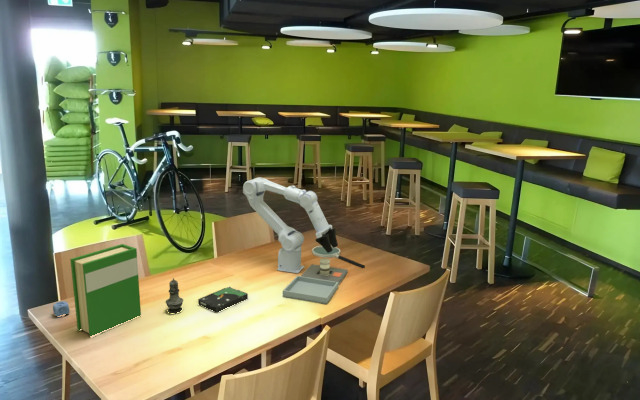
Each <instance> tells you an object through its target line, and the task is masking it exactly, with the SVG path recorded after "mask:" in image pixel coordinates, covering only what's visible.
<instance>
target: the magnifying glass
mask: <svg viewBox="0 0 640 400" xmlns="http://www.w3.org/2000/svg"><path fill="white" fill-rule="evenodd" d="M331 247H332V246H331ZM332 250H333V251H331V252H329V253H327V251H326V250H325V249H324V248H323V247H322V246H321V245H317V246H315V247H313V248H312V249H311V253H313V256H315V257H319V258H326V259H330V258H337V259H339V260H341V261H344V262H347V263H348V264H350V265H354V266H355V267H356V266H357V267H359V268H360V269H365V267H366V266H365V265H364V264H363V263H359V262H357V261H355V260H352V259H349V258H347V257H345V256H342V255H340V254H341V249H340V248H338V246H337V247H334V248H333V247H332Z"/></svg>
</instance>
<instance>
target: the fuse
mask: <svg viewBox="0 0 640 400" xmlns="http://www.w3.org/2000/svg"><path fill="white" fill-rule="evenodd" d="M330 264H331V259H330V258H324V257H322V258H320V259H319V265H320V273H319V275H325V276H330V273H329V271H330V267H331V265H330Z"/></svg>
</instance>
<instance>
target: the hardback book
mask: <svg viewBox="0 0 640 400" xmlns="http://www.w3.org/2000/svg"><path fill="white" fill-rule="evenodd" d="M70 267H71V278H72V279H71V280H72V289H73V290H72V291H73V299H74V307H75V317H76V319H75V320H76V327H77V330H78V329H79V330H80V329H82V330H83V331H84V332H86V333H88V336H89V335H90V336H92V335H95V334H97V333H100V332H102V331H104V330H107V329H109V328H112V327H114V326H116V325H118V324H121V323H124V322H126V321H128V320H131V319H133V318H135V317H137V316H140V315H141V316H142V310H141V308H142V307H141V296H140V293H141V292H140V282H139V279H140V278H139V266H138V251H137V248H136V247H134V246H130V245H127V244H124V243H120V244H117V245H114V246H110V247H107V248H104V249H100V250H97V251H96V250H95V251H92V252H89V253H86V254H82V255H79V256H76V257H72V258H70ZM141 316H140V317H141ZM131 321H132V320H131ZM90 336H89V337H90Z"/></svg>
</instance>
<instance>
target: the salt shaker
mask: <svg viewBox="0 0 640 400" xmlns="http://www.w3.org/2000/svg"><path fill="white" fill-rule="evenodd" d="M179 292H180V289H179V282H178V281H177V280H176V279H175V278H174V277H173V278H172V280H170V281H169V289H168V293H169V298H168V299H166V300H165V304H166V306H167V308H168V309H167V310H168V312H169V313H177V312H180V311H181V310H182V308H183V307H182V305H183V302H184V299H183V297H180V295H179ZM168 312H167V313H168ZM169 313H168V314H169ZM180 313H181V312H180Z"/></svg>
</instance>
